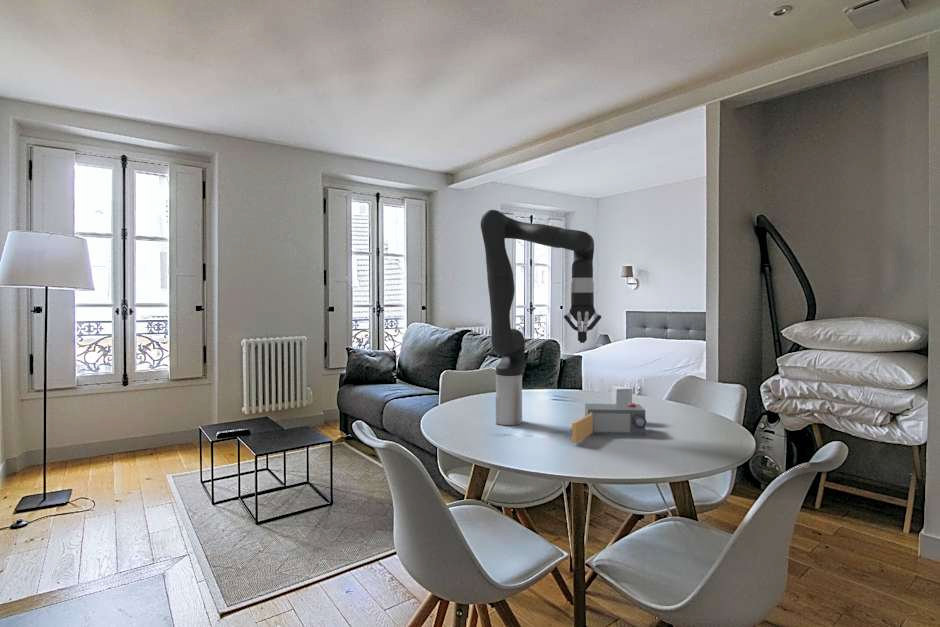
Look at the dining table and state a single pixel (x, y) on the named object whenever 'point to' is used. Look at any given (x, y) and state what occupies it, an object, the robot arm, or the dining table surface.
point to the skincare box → (621, 395)
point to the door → (582, 428)
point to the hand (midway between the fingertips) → (582, 342)
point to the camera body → (617, 418)
